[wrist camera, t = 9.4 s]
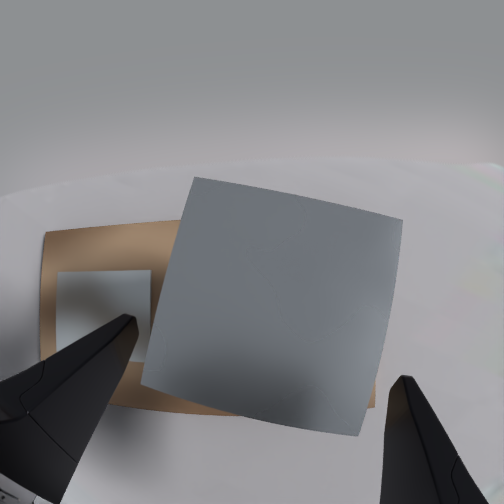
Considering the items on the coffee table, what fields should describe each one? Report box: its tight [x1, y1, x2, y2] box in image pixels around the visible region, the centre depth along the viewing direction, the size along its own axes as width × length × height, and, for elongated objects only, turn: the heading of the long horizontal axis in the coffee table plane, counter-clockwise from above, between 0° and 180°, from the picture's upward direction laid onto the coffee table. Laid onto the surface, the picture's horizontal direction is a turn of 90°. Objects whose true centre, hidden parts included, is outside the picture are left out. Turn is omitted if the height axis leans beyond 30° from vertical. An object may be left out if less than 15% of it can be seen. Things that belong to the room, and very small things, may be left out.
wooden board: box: [40, 220, 375, 416], centre depth 19 cm, size 13×24×2 cm, turn 91°
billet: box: [141, 177, 403, 436], centre depth 12 cm, size 5×5×13 cm
